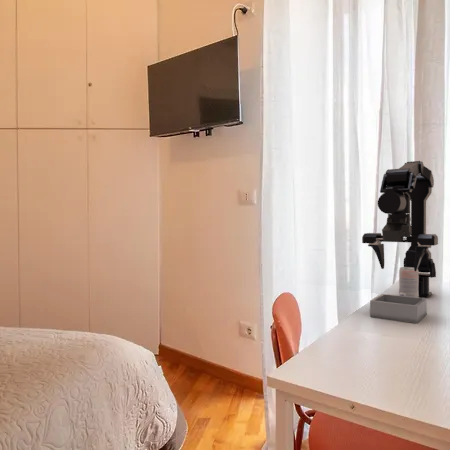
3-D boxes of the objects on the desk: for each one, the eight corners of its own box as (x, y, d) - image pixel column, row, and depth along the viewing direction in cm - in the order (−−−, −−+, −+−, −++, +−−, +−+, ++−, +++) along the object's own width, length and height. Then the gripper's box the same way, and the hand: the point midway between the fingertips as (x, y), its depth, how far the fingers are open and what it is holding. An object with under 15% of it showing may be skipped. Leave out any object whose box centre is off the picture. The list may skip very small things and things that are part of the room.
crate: (382, 308, 122) (382, 293, 121) (426, 314, 114) (426, 298, 114) (370, 316, 112) (370, 300, 112) (417, 323, 105) (417, 306, 105)
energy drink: (414, 305, 125) (414, 267, 125) (421, 309, 120) (421, 269, 120) (396, 305, 126) (396, 266, 125) (402, 309, 120) (402, 269, 120)
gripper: (355, 214, 112) (355, 270, 112) (430, 213, 100) (430, 276, 101) (368, 214, 121) (368, 266, 121) (438, 213, 109) (438, 271, 110)
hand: (398, 269), depth 113 cm, fingers open, 8 cm apart
